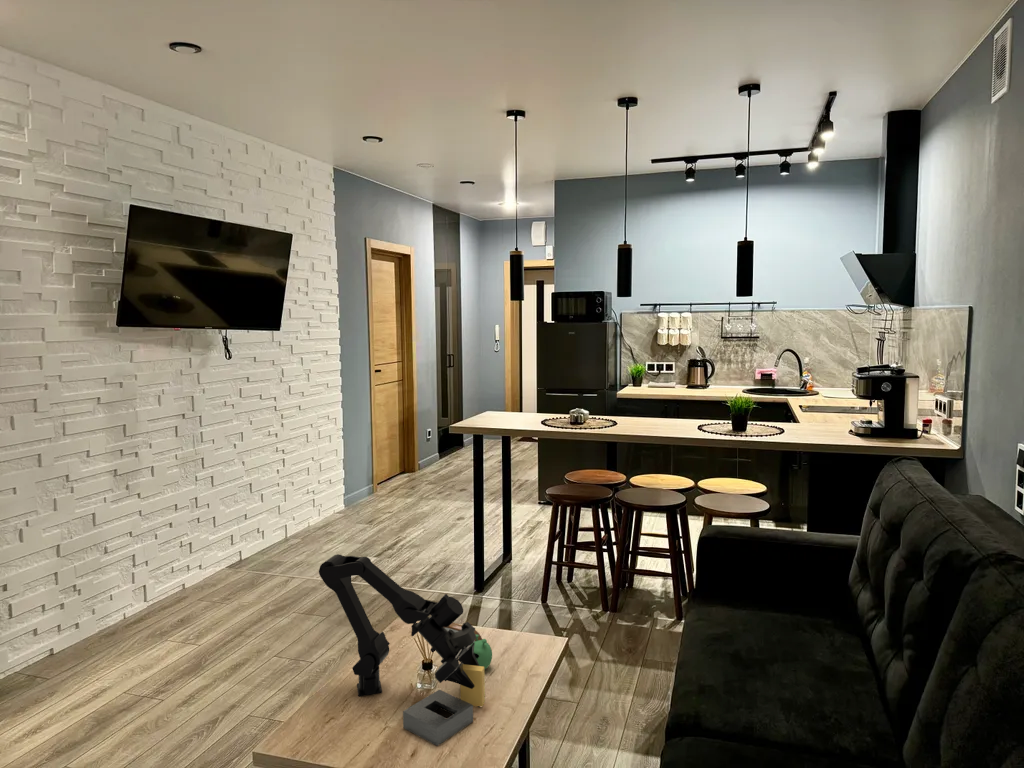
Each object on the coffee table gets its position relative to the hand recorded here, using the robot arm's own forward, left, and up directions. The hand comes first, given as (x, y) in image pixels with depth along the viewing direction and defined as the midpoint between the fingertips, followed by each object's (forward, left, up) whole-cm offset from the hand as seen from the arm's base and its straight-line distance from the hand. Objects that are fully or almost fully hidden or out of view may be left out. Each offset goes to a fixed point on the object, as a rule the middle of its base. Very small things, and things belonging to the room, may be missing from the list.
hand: (477, 680), depth 187 cm
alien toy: (-18, +5, -7) cm, 20 cm away
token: (-1, -1, -7) cm, 7 cm away
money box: (+6, -12, -7) cm, 15 cm away
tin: (-30, +2, -7) cm, 30 cm away
